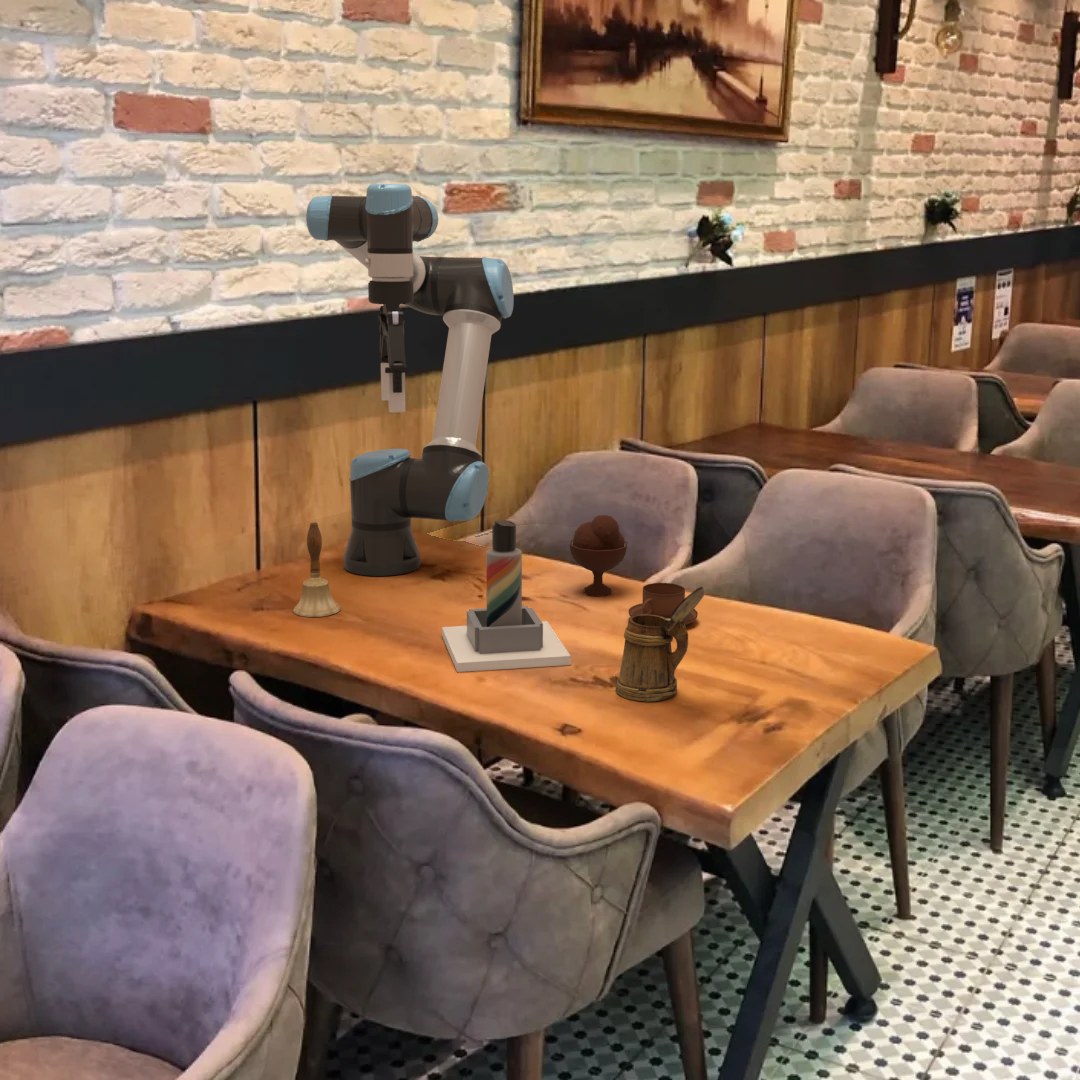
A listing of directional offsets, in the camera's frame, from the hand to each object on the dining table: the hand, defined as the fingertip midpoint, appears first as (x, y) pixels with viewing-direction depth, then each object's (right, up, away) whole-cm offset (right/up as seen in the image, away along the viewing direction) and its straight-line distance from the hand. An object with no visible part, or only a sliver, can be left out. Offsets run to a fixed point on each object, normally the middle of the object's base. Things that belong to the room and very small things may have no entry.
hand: (393, 406), depth 225 cm
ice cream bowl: (+36, -33, +21) cm, 53 cm away
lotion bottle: (+19, -40, -11) cm, 45 cm away
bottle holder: (+19, -41, -11) cm, 46 cm away
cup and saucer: (+47, -38, +5) cm, 60 cm away
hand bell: (-15, -36, +9) cm, 40 cm away
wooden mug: (+43, -46, -30) cm, 69 cm away
